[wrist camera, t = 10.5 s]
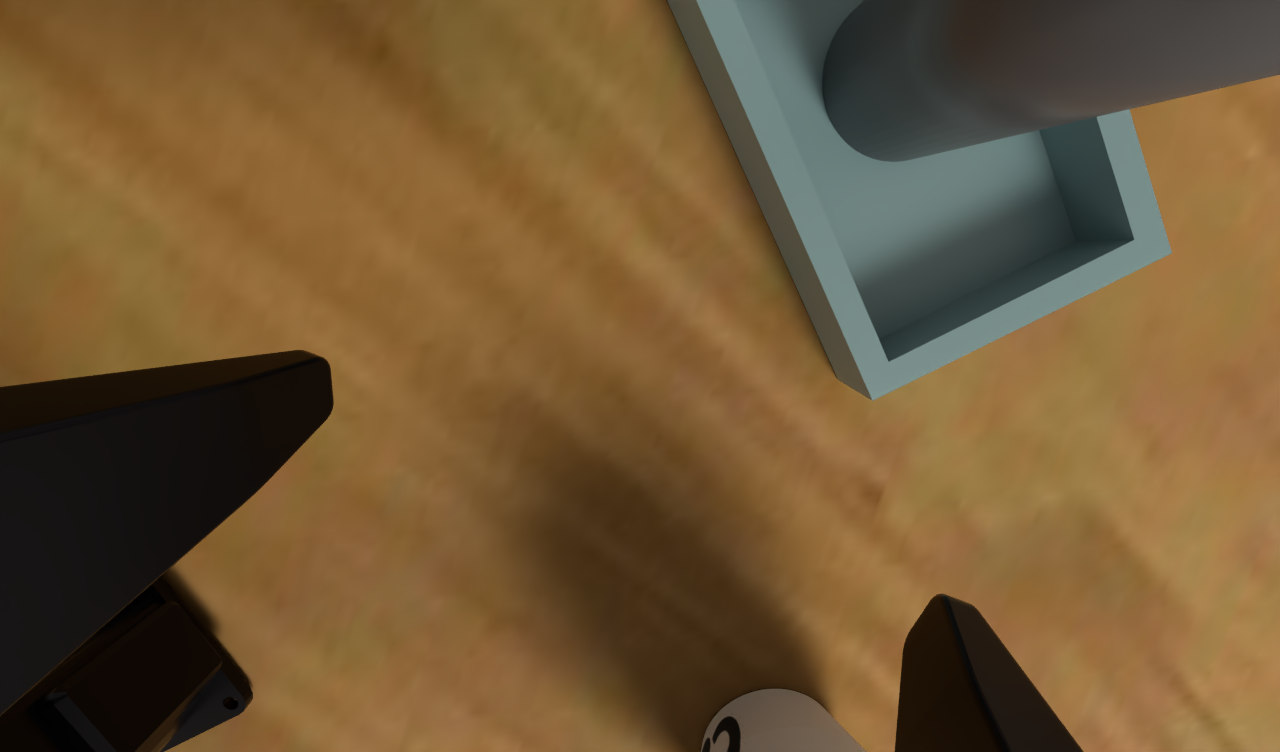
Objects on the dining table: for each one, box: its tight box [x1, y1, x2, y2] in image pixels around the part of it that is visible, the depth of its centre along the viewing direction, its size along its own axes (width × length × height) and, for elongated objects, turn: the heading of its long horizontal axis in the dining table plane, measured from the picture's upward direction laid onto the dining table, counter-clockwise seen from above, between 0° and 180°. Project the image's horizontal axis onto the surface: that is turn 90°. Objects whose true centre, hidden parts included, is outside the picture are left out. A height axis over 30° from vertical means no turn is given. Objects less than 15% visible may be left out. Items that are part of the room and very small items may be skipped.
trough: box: [667, 0, 1172, 401], centre depth 16 cm, size 9×13×3 cm
